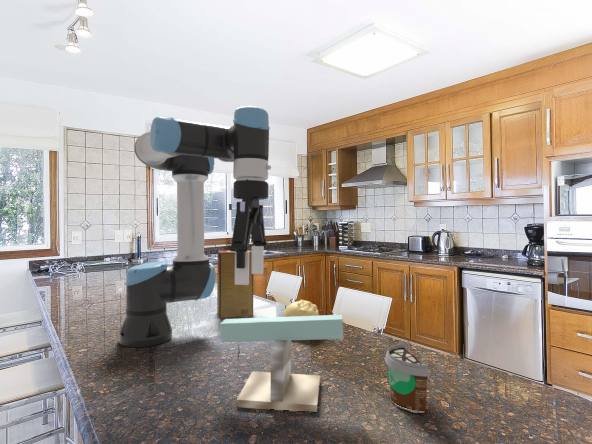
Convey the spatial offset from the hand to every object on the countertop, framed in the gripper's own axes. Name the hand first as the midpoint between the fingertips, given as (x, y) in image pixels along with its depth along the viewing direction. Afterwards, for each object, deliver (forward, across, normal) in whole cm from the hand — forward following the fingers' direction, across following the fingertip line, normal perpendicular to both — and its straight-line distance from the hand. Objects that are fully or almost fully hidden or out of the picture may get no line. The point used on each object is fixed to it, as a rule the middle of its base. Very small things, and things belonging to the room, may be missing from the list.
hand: (250, 278), depth 76 cm
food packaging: (+25, +59, +21) cm, 67 cm away
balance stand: (+25, 0, -7) cm, 26 cm away
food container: (+25, 0, -32) cm, 41 cm away
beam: (+12, 0, -7) cm, 14 cm away
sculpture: (+25, +41, -7) cm, 48 cm away
